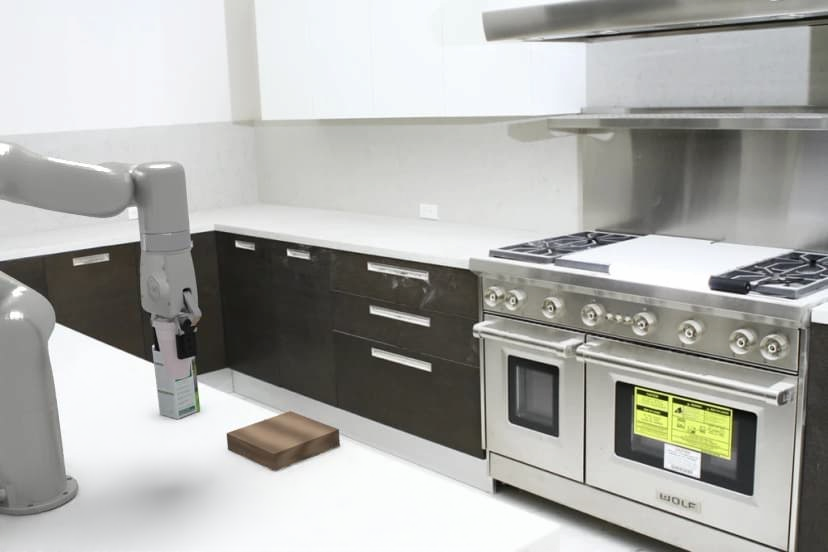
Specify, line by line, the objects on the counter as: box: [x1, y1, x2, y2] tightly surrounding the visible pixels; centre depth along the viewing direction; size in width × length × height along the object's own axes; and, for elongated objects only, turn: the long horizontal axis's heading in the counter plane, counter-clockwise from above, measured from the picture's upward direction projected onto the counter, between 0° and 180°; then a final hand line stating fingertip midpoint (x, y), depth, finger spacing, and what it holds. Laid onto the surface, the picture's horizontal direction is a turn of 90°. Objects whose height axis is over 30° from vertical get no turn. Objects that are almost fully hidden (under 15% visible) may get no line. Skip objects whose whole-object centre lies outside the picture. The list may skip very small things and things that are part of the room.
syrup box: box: [151, 344, 201, 420], centre depth 175 cm, size 6×6×14 cm
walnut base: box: [226, 410, 341, 472], centre depth 157 cm, size 14×14×3 cm
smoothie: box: [151, 312, 191, 380], centre depth 141 cm, size 6×6×14 cm
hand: (175, 352), depth 142 cm, fingers closed on smoothie, 6 cm apart
